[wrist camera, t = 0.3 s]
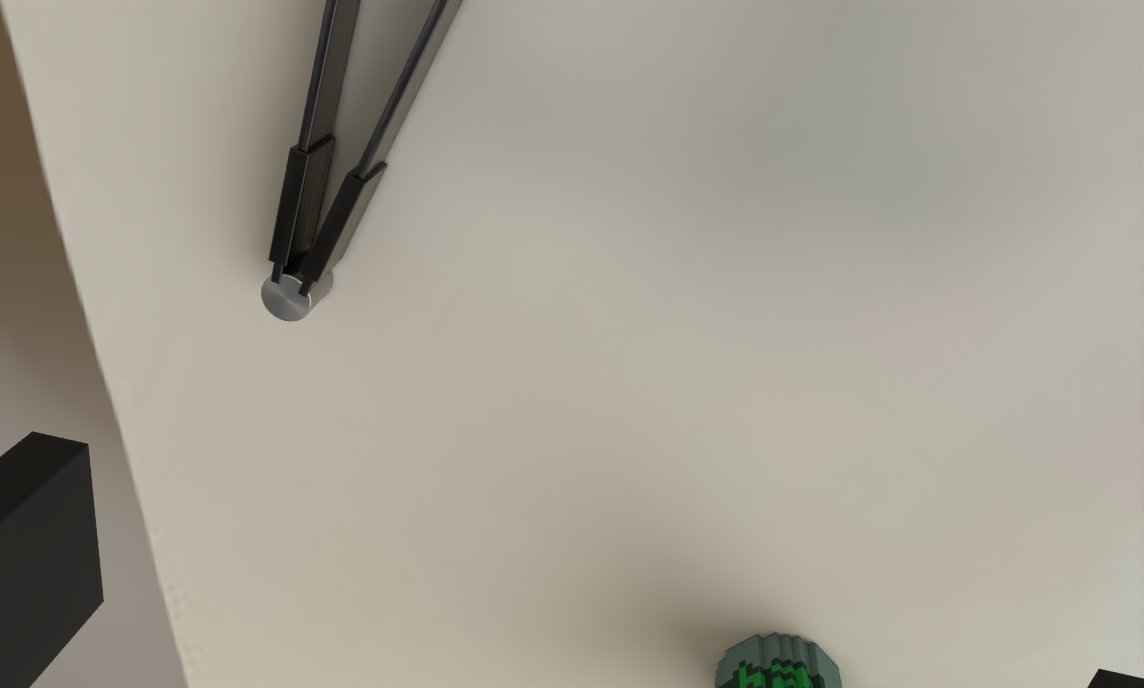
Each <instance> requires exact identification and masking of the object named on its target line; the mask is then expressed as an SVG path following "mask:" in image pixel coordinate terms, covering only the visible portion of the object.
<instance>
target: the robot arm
mask: <svg viewBox="0 0 1144 688" xmlns="http://www.w3.org/2000/svg"><path fill="white" fill-rule="evenodd" d="M103 601H104V600H103V589H102V579H101V569H100V558H99V549H98V538H97V528H96V518H95V508H94V498H93V489H92V478H91V468H90V457H89V448H88V444H86V443H82V442H77V441H73V440H68V439H64V438H59V437H55V436H50V435H46V434H41V433H37V432H31V433H30V434H29V435H27V436H26V437H25V438H24V439H22V440H21V441H20V442H18V443H17V444H16V445H15V446H13V447H12V448H11V449H10V450H8V451H7V452H6V453H5V454H3V455H2V456H1V457H0V688H29V687H30V686H31V685H32V684H33V683H34V682H35V681H36V679H37V678H38V677H39V676H40V674H42V672H43V671H44V670H45V669H46V667H48V665H49V664H50V663H51V662H52V661H53V660H54V658H55V657H56V656H57V655H58V653H60V651H61V650H62V649H63V648H64V647H65V646H66V644H67V643H68V642H69V641H70V640H71V639H72V637H73V636H74V635H75V634H76V633H77V631H79V629H80V628H81V627H82V626H83V625H84V623H85V622H86V621H87V620H88V619H89V618H90V617H91V615H92V614H93V613H94V612H95V611H96V610H97V608H98V607H99V606H100V605H101V604H102V602H103ZM1087 688H1144V679H1143V678H1139V677H1134V676H1130V675H1125V674H1121V673H1116V672H1112V671H1107V670H1103V669H1098V671H1097V673H1096V674H1095V676H1094V678H1093V679H1092V681H1091V683H1090V684H1089V686H1088V687H1087Z"/></svg>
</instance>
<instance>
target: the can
mask: <svg viewBox="0 0 1144 688" xmlns="http://www.w3.org/2000/svg"><path fill="white" fill-rule="evenodd" d="M716 674H717V678H715V688H842V684H841V680H840V674H839V668H838V666H837V665H836V664H835V663H834V662H833V661H832V660H831V659H830V658H829V657H828V656H827V655H826V654H825V653H824V652H823V651H822V650H821V649H820V648H819V647H818V645H817V644H816V643H813V644H811V645H809V646H808V645H807V644H806V643H805V642H804V641H803V640H802V639H801V638H800V637H799V636H798V637H796V638H794V639H791V638H790V637H789V636H788V635H785V636H783V637H781V638H780V637H779V636H778V635H777V634H776V633H774V634H772V635H770V636H769V637H767V638H765V639H763V640H762V639H761V638H760V637H759V636H758V635H756V636H754V637H752V638H750V639H748V640H746V641H745V642H743V643H741V644H739V645H737V646H735V647H733V648H731V649H729V650H727V651H726V659H724V660H722V661H720V662H718V670H717V671H716Z"/></svg>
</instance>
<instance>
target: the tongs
mask: <svg viewBox="0 0 1144 688" xmlns="http://www.w3.org/2000/svg"><path fill="white" fill-rule="evenodd" d="M462 1H463V0H436V2H435V4H434V6H433V9H432V11H431V13H430V15H429V17H428V19H427V21H426V23H425V25H424V27H423V30H422V32H421V34H420V36H419V38H418V40H417V42H416V44H415V46H414V49H413V51H412V53H411V55H410V57H409V59H408V61H407V63H406V65H405V68H404V70H403V72H402V74H401V76H400V78H399V80H398V82H397V84H396V86H395V89H394V91H393V93H392V95H391V97H390V99H389V101H388V103H387V105H386V108H385V110H384V112H383V114H382V116H381V118H380V120H379V122H378V124H377V126H376V129H375V131H374V133H373V135H372V137H371V139H370V141H369V143H368V145H367V148H366V150H365V152H364V154H363V156H362V158H361V160H360V162H359V164H358V166H356V167H355V168H354V169H353V170H351V171H350V172H349V173H347V175H346V177H345V179H344V181H343V183H342V186H341V188H340V190H339V192H338V194H337V196H336V198H335V200H334V203H333V205H332V207H331V209H330V211H329V213H328V215H327V217H326V220H325V222H324V224H323V226H322V228H321V230H320V232H319V234H318V237H317V239H316V241H315V243H314V245H313V247H312V249H311V251H310V253H306V249H307V247H309V246H310V245H311V244H312V243H313V238H314V234H315V229H316V225H317V220H318V216H319V211H320V206H321V202H322V197H323V193H324V188H325V184H326V179H327V175H328V170H329V165H330V161H331V156H332V152H333V147H334V143H335V137H333V136H331V134H332V130H333V125H334V120H335V116H336V111H337V106H338V102H339V97H340V93H341V88H342V83H343V79H344V74H345V70H346V65H347V60H348V56H349V51H350V47H351V42H352V37H353V33H354V28H355V24H356V19H357V14H358V10H359V5H360V0H327V1H326V6H325V11H324V16H323V21H322V26H321V31H320V36H319V41H318V46H317V51H316V56H315V61H314V66H313V71H312V76H311V81H310V86H309V91H308V96H307V101H306V106H305V111H304V116H303V121H302V126H301V131H300V136H299V141H298V144H296V145H294V146H293V147H291V148H290V152H289V157H288V162H287V167H286V172H285V177H284V183H283V188H282V193H281V198H280V203H279V208H278V213H277V218H276V223H275V229H274V234H273V239H272V244H271V249H270V254H269V260H270V261H272V262H274V267H273V272H272V275H271V276H269V277H268V278H267V279H266V280H265V282H264V283H263V285H262V289H261V296H262V300H263V303H264V305H265V307H266V308H267V309H268V311H269V312H270V313H271V314H273V315H274V316H275V317H277V318H279V319H281V320H285V321H298V320H301V319H302V318H304V317H305V316H306V315H307V314H308V313H309V312H310V311H311V310H312V309H313V308H314V307H315V306H316V305H317V304H318V303H319V302H320V301H321V300H322V299H323V297H324V296H325V295H326V294H327V293H328V292H329V291H330V289H331V287H332V282H333V279H332V273H331V269H332V268H333V267H334V266H335V265H336V264H337V263H338V262H339V261H340V260H341V259H342V257H343V255H344V253H345V251H346V249H347V247H348V245H349V243H350V241H351V239H352V237H353V235H354V233H355V231H356V228H357V226H358V224H359V222H360V220H361V218H362V216H363V214H364V212H365V210H366V208H367V206H368V204H369V202H370V200H371V198H372V196H373V194H374V192H375V190H376V188H377V186H378V184H379V182H380V180H381V178H382V176H383V174H384V172H385V170H386V168H387V164H386V163H384V161H385V158H386V156H387V154H388V152H389V150H390V148H391V146H392V144H393V142H394V140H395V138H396V136H397V134H398V132H399V130H400V128H401V126H402V124H403V122H404V120H405V118H406V116H407V114H408V111H409V109H410V107H411V105H412V103H413V101H414V99H415V97H416V95H417V93H418V91H419V89H420V87H421V85H422V83H423V81H424V79H425V77H426V75H427V73H428V71H429V69H430V67H431V64H432V62H433V60H434V58H435V56H436V54H437V52H438V50H439V48H440V46H441V44H442V42H443V40H444V38H445V36H446V34H447V32H448V30H449V28H450V26H451V24H452V22H453V20H454V17H455V15H456V13H457V11H458V9H459V7H460V5H461V3H462Z"/></svg>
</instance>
